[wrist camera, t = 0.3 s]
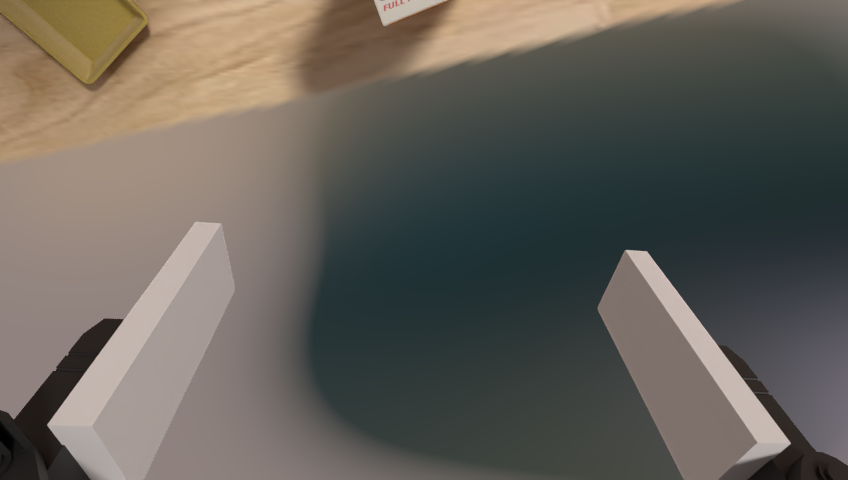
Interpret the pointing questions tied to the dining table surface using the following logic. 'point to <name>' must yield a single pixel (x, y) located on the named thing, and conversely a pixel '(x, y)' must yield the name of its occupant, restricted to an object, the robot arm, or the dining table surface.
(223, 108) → the dining table surface
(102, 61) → the yellow tray
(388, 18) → the supplement box
